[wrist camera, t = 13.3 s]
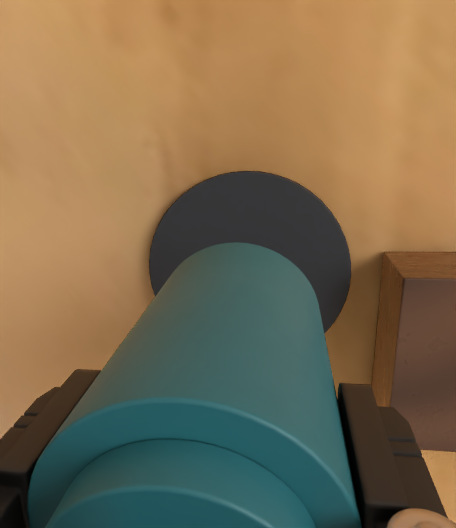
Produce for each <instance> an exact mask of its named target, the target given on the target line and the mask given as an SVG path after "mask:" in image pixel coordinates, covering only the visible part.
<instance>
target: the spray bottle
mask: <svg viewBox="0 0 456 528" xmlns="http://www.w3.org/2000/svg"><path fill="white" fill-rule="evenodd" d="M27 513H28V520H29V527H30V528H362V525H361V520H360V514H359V509H358V504H357V499H356V494H355V489H354V484H353V478H352V473H351V468H350V463H349V458H348V453H347V448H346V442H345V437H344V432H343V427H342V422H341V417H340V412H339V406H338V401H337V396H336V391H335V386H334V381H333V376H332V370H331V365H330V360H329V355H328V350H327V345H326V340H325V334H324V329H323V324H322V319H321V314H320V309H319V304H318V300H317V297H316V294H315V292H314V290H313V288H312V286H311V284H310V282H309V281H308V279H307V278H306V276H305V275H304V274H303V273H302V272H301V271H300V269H299V268H298V267H297V266H296V265H294V264H293V263H292V262H291V261H290V260H288V259H287V258H285V257H284V256H282V255H281V254H279V253H277V252H275V251H273V250H271V249H268V248H265V247H262V246H259V245H254V244H249V243H238V242H235V243H223V244H218V245H213V246H210V247H207V248H204V249H202V250H200V251H198V252H196V253H194V254H193V255H191V256H190V257H188V258H187V259H186V260H184V261H183V262H182V263H181V264H180V265H179V266H178V267H177V268H176V269H175V271H174V272H173V273H172V274H171V276H170V277H169V278H168V280H167V281H166V283H165V284H164V285H163V287H162V288H161V289H160V291H159V292H158V294H157V295H156V296H155V298H154V299H153V300H152V302H151V303H150V305H149V306H148V307H147V309H146V310H145V311H144V313H143V314H142V316H141V317H140V318H139V320H138V321H137V322H136V324H135V325H134V327H133V328H132V329H131V331H130V332H129V333H128V335H127V336H126V338H125V339H124V340H123V342H122V343H121V344H120V346H119V347H118V349H117V350H116V351H115V353H114V354H113V355H112V357H111V358H110V360H109V361H108V362H107V364H106V365H105V366H104V368H103V369H102V371H101V372H100V373H99V375H98V376H97V377H96V379H95V380H94V382H93V383H92V384H91V386H90V387H89V388H88V390H87V391H86V393H85V394H84V395H83V397H82V398H81V399H80V401H79V402H78V403H77V405H76V406H75V408H74V409H73V410H72V412H71V413H70V414H69V416H68V417H67V419H66V420H65V421H64V423H63V424H62V425H61V427H60V428H59V430H58V431H57V432H56V434H55V435H54V436H53V438H52V439H51V441H50V442H49V443H48V445H47V446H46V448H45V449H44V451H43V452H42V454H41V456H40V457H39V459H38V461H37V463H36V465H35V468H34V471H33V473H32V476H31V480H30V485H29V490H28V499H27Z"/></svg>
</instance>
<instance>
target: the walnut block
mask: <svg viewBox="0 0 456 528" xmlns="http://www.w3.org/2000/svg"><path fill="white" fill-rule="evenodd" d="M372 390H373V394H374V397H375V400H376V403H377V406H383V407H394V408H395V409H396V410H397V411H398V412H399V413H400V414H401V415H402V416H403V417H404V418H405V419H406V420H407V421H408V422H409V424H410V426H411V429H412V431H413V434H414V436H415V439H416V443H417V444H418V446H419V449H420V450H434V451H449V452H456V252H384V255H383V266H382V277H381V289H380V300H379V311H378V322H377V333H376V344H375V355H374V366H373V377H372Z"/></svg>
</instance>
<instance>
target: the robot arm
mask: <svg viewBox="0 0 456 528" xmlns="http://www.w3.org/2000/svg"><path fill="white" fill-rule="evenodd" d="M101 371H102V370H83V369H77V370H75V371H74V372H73V373H72V374H71V375H70V377H69V378H68V379H67V380H66V381H65V382H64V384H63V385H62V386H61V387H54V388H53V389H51V390H50V391H48V392H47V393H45V394H44V395H42V396H40V397H39V398H37V399H36V400H35V401H34V403H33V404H32V405H31V406H30V407H29V408H28V409H27V410H26V412H25V413H24V416H21V417H20V418H19V419H18V421H17V422H16V423H15V424H14V427H13V428H12V427H11V428H10V429H9V431H8V432H7V433H6V434H5V435H4V436H3V437H2V438H1V440H0V528H30V527H29V520H28V513H27V499H28V490H29V485H30V480H31V476H32V473H33V471H34V468H35V465H36V463H37V461H38V459H39V457H40V456H41V454H42V452H43V451H44V449H45V448H46V446H47V445H48V443H49V442H50V441H51V439H52V438H53V436H54V435H55V434H56V432H57V431H58V430H59V428H60V427H61V425H62V424H63V423H64V421H65V420H66V419H67V417H68V416H69V414H70V413H71V412H72V410H73V409H74V408H75V406H76V405H77V403H78V402H79V401H80V399H81V398H82V397H83V395H84V394H85V393H86V391H87V390H88V388H89V387H90V386H91V384H92V383H93V382H94V380H95V379H96V377H97V376H98V375H99V373H100V372H101ZM337 401H338V406H339V412H340V417H341V422H342V427H343V432H344V437H345V442H346V448H347V453H348V458H349V463H350V468H351V473H352V478H353V484H354V489H355V494H356V499H357V504H358V509H359V514H360V520H361V525H362V528H456V524H455V523H454V522H452V521H451V520H449V519H448V517H447V515H446V513H445V510H444V508H443V505H442V503H441V500H440V498H439V495H438V493H437V490H436V488H435V486H434V483H433V481H432V478H431V476H430V473H429V471H428V468H427V466H426V463H425V461H424V458H422V453H421V451H420V449H419V446H418V444H417V443H416V439H415V436H414V434H413V431H412V429H411V426H410V424H409V422H408V421H407V420H406V419H405V418H404V417H403V416H402V415H401V414H400V413H399V412H398V411H397V410H396V409H395V408H394V407H383V406H377V403H376V400H375V397H374V394H373V390H372V387H371V385H367V384H347V383H340V384H339V387H338V400H337Z"/></svg>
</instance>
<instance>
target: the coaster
mask: <svg viewBox="0 0 456 528" xmlns="http://www.w3.org/2000/svg"><path fill="white" fill-rule="evenodd" d="M235 242H238V243H249V244H254V245H259V246H262V247H265V248H268V249H271V250H273V251H275V252H277V253H279V254H281V255H282V256H284V257H285V258H287V259H288V260H290V261H291V262H292V263H293V264H294V265H296V266H297V267H298V268H299V269H300V271H301V272H302V273H303V274H304V275H305V276H306V278H307V279H308V281H309V282H310V284H311V286H312V288H313V290H314V292H315V294H316V297H317V300H318V304H319V309H320V314H321V319H322V324H323V329H324V333H325V332H326V331H327V330H328V329H329V328H330V327H331V325H332V324H333V323H334V322H335V320H336V318H337V317H338V315H339V314H340V312H341V310H342V308H343V305H344V303H345V301H346V298H347V294H348V291H349V286H350V278H351V261H350V254H349V249H348V245H347V242H346V239H345V236H344V234H343V232H342V230H341V227H340V225H339V223H338V222H337V220H336V219H335V217H334V216H333V214H332V212H331V211H330V210H329V209H328V208H327V207H326V205H325V204H324V203H323V202H322V201H321V200H320V199H319V198H318V197H317V196H315V195H314V194H313V193H312V192H311V191H309V190H307V189H306V188H304V187H303V186H301V185H300V184H298V183H296V182H294V181H292V180H290V179H287V178H284V177H281V176H278V175H275V174H271V173H265V172H260V171H238V172H230V173H225V174H221V175H217V176H215V177H212V178H209V179H207V180H205V181H203V182H201V183H199V184H197V185H195V186H194V187H192V188H191V189H189V190H188V191H187V192H185V193H184V194H183V195H181V196H180V197H179V198H178V199H177V200H176V201H175V202H174V203H173V204H172V205H171V207H170V208H169V209H168V210H167V212H166V213H165V214H164V216H163V218H162V220H161V221H160V223H159V225H158V227H157V229H156V232H155V234H154V237H153V241H152V245H151V249H150V259H149V269H150V278H151V285H152V288H153V291H154V295H155V296H156V295H157V294H158V292H159V291H160V289H161V288H162V287H163V285H164V284H165V283H166V281H167V280H168V278H169V277H170V276H171V274H172V273H173V272H174V271H175V269H176V268H177V267H178V266H179V265H180V264H181V263H182V262H183V261H184V260H186V259H187V258H188V257H190V256H191V255H193V254H194V253H196V252H198V251H200V250H202V249H204V248H207V247H210V246H213V245H218V244H223V243H235Z"/></svg>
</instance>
